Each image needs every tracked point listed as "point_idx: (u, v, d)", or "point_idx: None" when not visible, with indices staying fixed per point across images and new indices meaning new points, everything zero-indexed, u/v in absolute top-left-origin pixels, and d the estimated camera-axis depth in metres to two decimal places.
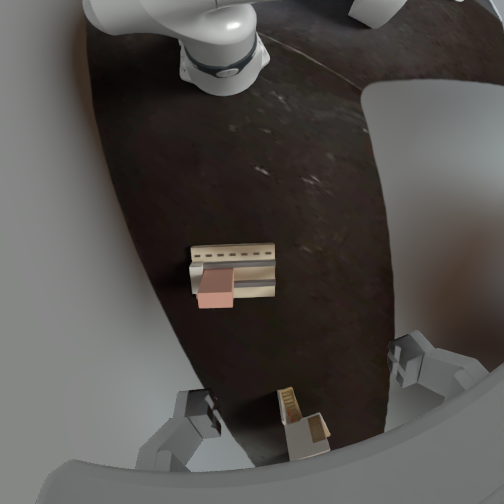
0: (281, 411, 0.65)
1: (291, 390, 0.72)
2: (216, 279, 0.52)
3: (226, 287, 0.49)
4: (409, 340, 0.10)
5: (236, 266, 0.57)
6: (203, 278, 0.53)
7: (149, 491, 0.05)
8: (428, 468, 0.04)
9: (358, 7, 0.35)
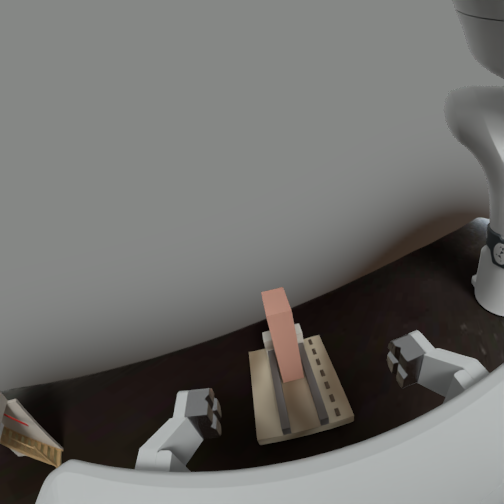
0: (30, 416, 0.24)
1: (54, 462, 0.23)
2: None
3: None
4: (409, 340, 0.10)
5: (308, 374, 0.34)
6: None
7: (149, 491, 0.05)
8: (428, 468, 0.04)
9: None
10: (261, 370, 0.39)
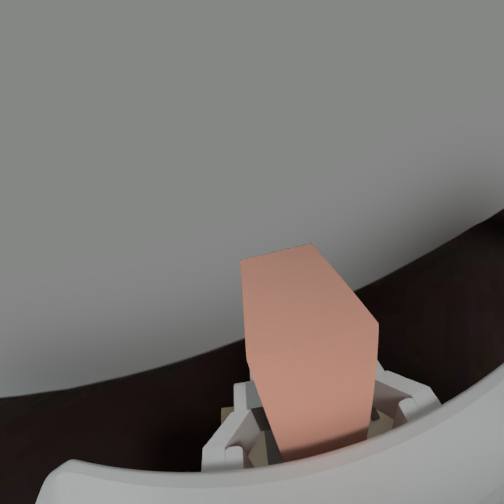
0: None
1: None
2: None
3: None
4: None
5: None
6: None
7: (149, 491, 0.05)
8: (428, 468, 0.04)
9: None
10: None
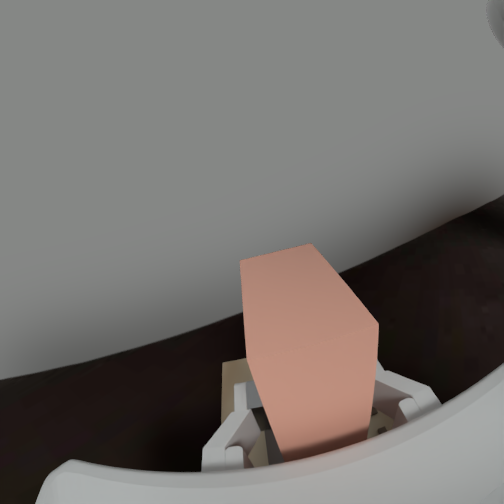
0: None
1: None
2: None
3: None
4: None
5: None
6: None
7: (149, 491, 0.05)
8: (428, 468, 0.04)
9: None
10: None
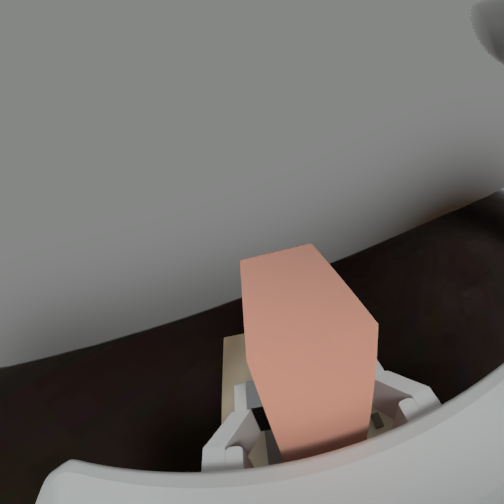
0: None
1: None
2: None
3: None
4: None
5: None
6: None
7: (149, 491, 0.05)
8: (428, 468, 0.04)
9: None
10: (241, 367, 0.22)
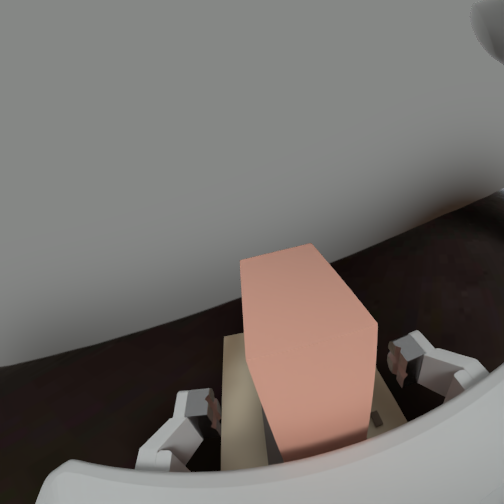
0: None
1: None
2: None
3: None
4: (409, 340, 0.10)
5: None
6: None
7: (149, 491, 0.05)
8: (428, 468, 0.04)
9: None
10: (241, 366, 0.22)
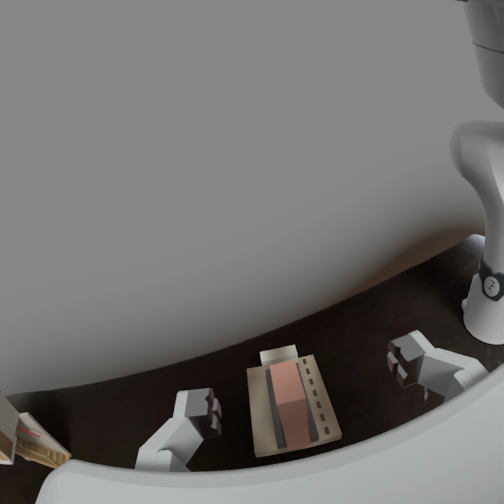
0: (41, 427, 0.26)
1: None
2: None
3: None
4: (409, 340, 0.10)
5: None
6: None
7: (149, 491, 0.05)
8: (428, 468, 0.04)
9: None
10: (258, 387, 0.41)
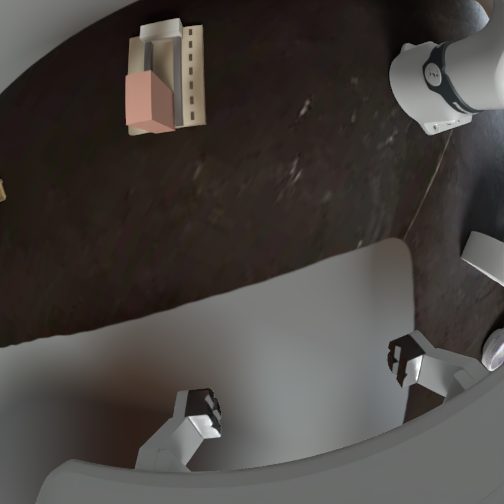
0: None
1: (1, 198, 0.37)
2: (163, 103, 0.29)
3: (156, 113, 0.26)
4: (409, 340, 0.10)
5: (175, 74, 0.32)
6: (164, 85, 0.29)
7: (149, 491, 0.05)
8: (428, 468, 0.04)
9: (490, 238, 0.38)
10: (138, 60, 0.32)
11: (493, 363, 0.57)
